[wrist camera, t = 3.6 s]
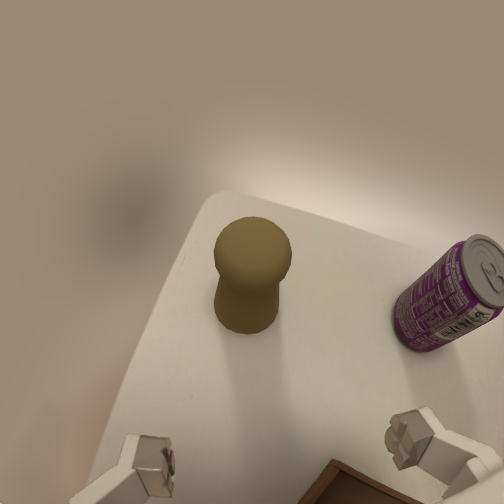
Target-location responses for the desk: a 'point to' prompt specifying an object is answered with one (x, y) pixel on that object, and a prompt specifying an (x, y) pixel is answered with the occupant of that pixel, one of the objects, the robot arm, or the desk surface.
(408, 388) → the desk surface
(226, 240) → the cork
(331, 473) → the tray
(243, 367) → the desk surface
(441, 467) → the robot arm
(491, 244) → the beverage can
